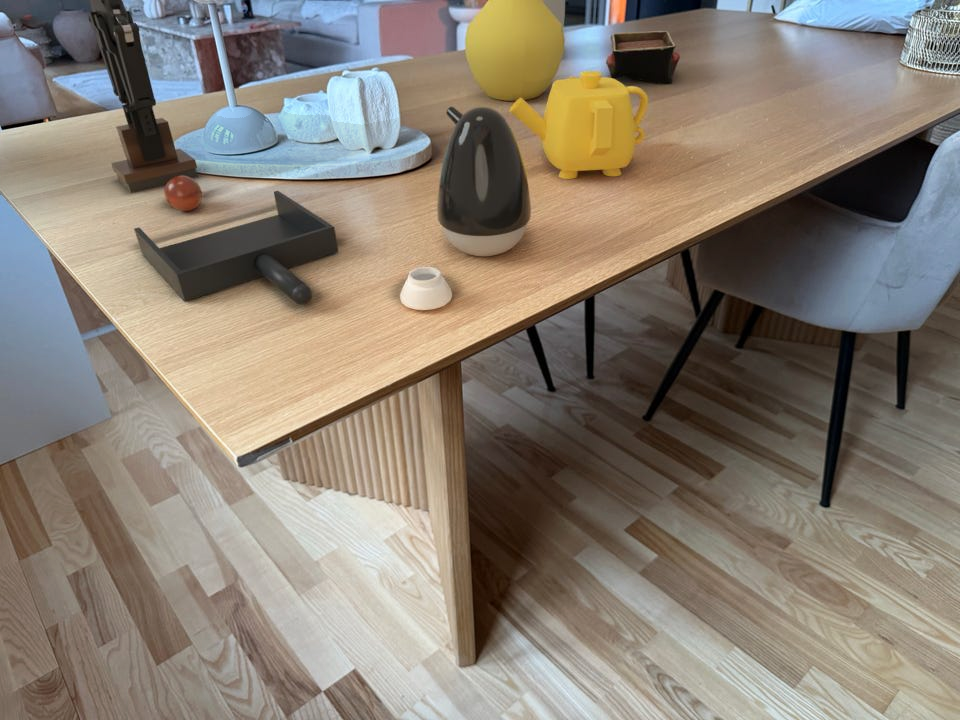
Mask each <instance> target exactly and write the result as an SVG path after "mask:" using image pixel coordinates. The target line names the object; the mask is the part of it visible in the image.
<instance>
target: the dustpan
mask: <svg viewBox="0 0 960 720" xmlns="http://www.w3.org/2000/svg"><path fill="white" fill-rule="evenodd" d="M273 196H274V202H275V206H276V210H277V214H276V215H271V216H269V217H265V218H260V219H258V220H254V221H251V222H247V223H244V224H239V225H237V226H233V227H230V228H226V229H223V230H219V231H215V232H211V233H209V234H205V235H201V236H197V237H194V238H190V239H187V240H183V241H180V242H177V243H173V244H169V245H165V246H162V247H159V246H158V245H157V244H156V243H155V242H154V241H153V239H151V238H150V237H149V236H148V235H147V234H146V232H145V231H143V229H142V228H141V227H135V228H134V229H133V230H134V233H135V236H136V240H137V242H138V246H139V248H140V251H141V255H142V256H143V257H144V258H145V259H146V261H147V262H148V263H149V264H150V265H151V267H153V268H154V269H155V270H156V272H157V273H158V274H159V275H160V276H161V277H162V278H163V280H164V281H165V282H166V283H167V284H168V285H169V286H170V287H171V289H172V290H173V291H174V292H175V294H177V296H179V298H180V299H181V300H182V301H184V302H187V301H190V300H193V299H197V298H199V297H202V296H205V295H209V294H212V293H215V292H218V291H221V290H224V289H227V288H230V287H233V286H237V285H239V284H243V283H245V282H248V281H252V280H255V279H257V278H261V277H265V278H266V279H267V280H268V281H269V282H270V283H272V284H273V285H274V286H275V287H276V288H278V289H279V290H280V291H281V292H283V293H284V294H285V295H286V297H288V298H289V299H291V300H292V301H293V302H294V303H295V304H297V305H306V304H308V303H310V301H311V300H312V298H313V290H312V288H311V287H310V286H309V285H308V284H306V283H305V282H304V281H303V280H302V279H300V278H299V277H298V276H297V275H296V274H294V273H293V272H292V271H290V270H289V269H288V268H292V267H294V266H298V265H301V264H304V263H308V262H310V261H314V260H316V259H320V258H322V257H326V256H328V255H331V254H335V253H337V252H339V247H338V242H337V236H336V228H335V226H334V225H332V224H331V223H330V222H328V221H326V219H323V218H322V217H320V216H318V215H317V214H316V213H314V212H313V211H311V210H310V209H307V208H306V207H304V206H302V205H301V204H300V203H298V202H297V201H295V200H293V199H292V198H290V197H289V196H287V195H286V194H284V193H283V192H281V191H279V190H274V191H273Z"/></svg>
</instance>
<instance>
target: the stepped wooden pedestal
mask: <svg viewBox="0 0 960 720" xmlns="http://www.w3.org/2000/svg"><path fill="white" fill-rule="evenodd" d="M155 119H156V123H157V126H158V130H159V133H160V137H161V140H162V144H163V147H164V151H165V154H166V157H163V158H159V159H154V160H150V161H145V160H144V158H143V155H142V152H141V148H140V145H139V142H138V138H137V135H136V132H135V128H134V125H133V123H132V124H128V123H127V124H123V125H117V126H116V131H117V134H118V137H119V140H120V143H121V147H122V150H123V153H124V156H125V159H124V160H118V161H114V162H111V163H110V165H111V168H112V171H113V172H114V173H115V175H116V177H117V181H118V182H119V183H120V184H121V185H122V186H123V187H124V188H125V189H126V190H127V191H128V192H129V193H130V194H132V193H136V192H140V191H145V190H149V189H154V188H157V187H161V186H162V187H163V186H166V184H167V182H168V181H169V180H170V179H171V178H173V177H175V176H181V175H183V176H188V177H190V178H192V179H195V178H198V177H199V176H198V171H197V168H198V164H197V161H196V159H195V158H194V157H192V156H191V155H190V154H188V153H187V152H185V151H184V150H183V149H181V148H176V145H175V143H174V138H173V136H172V131H171V128H170V124H169V121H167V120H166V119H164V118H163V117H158V118H155Z"/></svg>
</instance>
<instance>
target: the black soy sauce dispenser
mask: <svg viewBox="0 0 960 720" xmlns="http://www.w3.org/2000/svg"><path fill="white" fill-rule="evenodd" d="M446 109H447V110H446V116H447V118H449V119H450V120H451V122H453V124H454V125H455V126H454V127H453V130H452V132H451V135H450V137H449V140H448V143H447V145H446V150H445V153H444V157H443V160H442V166H441V171H440V176H439V183H438V194H437V195H438V196H437V209H436V210H437V221H438V223H439V224H440V226H441V227H442V230H443V233H444V234H445V237H446V239H447V240H448V241H449V243H450V244H451V245H452V246H453V247H454V248H455V249H457V250H458V251H460V252H462V253H465V254H467V255H471V256H475V257H491V256H497V255H501V254H503V253H506V252H508V251H509V250H511V249H513V248H514V247H515V246H516V245H517V244H518V243H519V242H520V240H521V239H522V238H523V236H524V234H525V232H526V229H527V226H528V224H529V222H530V220H531V219H532V218H531V217H532V202H531V195H530V187H529V181H528V176H527V170H526V168H525V163H524V159H523V156H522V153H521V150H520V147H519V144H518V141H517V139H516V136H515V134H514V131H513V130H512V127H511V125H510V124H509V122H508V121H507V119H506V118H505V117H504V116H503V115H502V114H501V113H500V112H499V111H498V110H496V109H494V108H491V107H488V106H487V107H486V106H476V107H473V108H471V109H469V110H467V111H466V112H464V113H462V112H461V111H459V110H458V109H457V108H456V107H454V106H449V107H448V108H446Z"/></svg>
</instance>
